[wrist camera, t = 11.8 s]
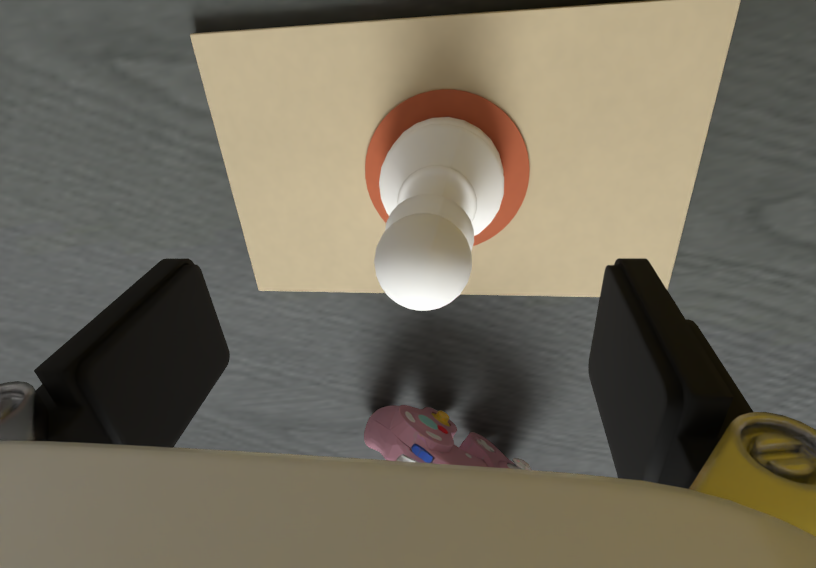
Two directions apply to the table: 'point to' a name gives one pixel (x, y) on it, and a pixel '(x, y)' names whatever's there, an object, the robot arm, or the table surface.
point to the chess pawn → (435, 210)
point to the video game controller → (430, 439)
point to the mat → (484, 108)
